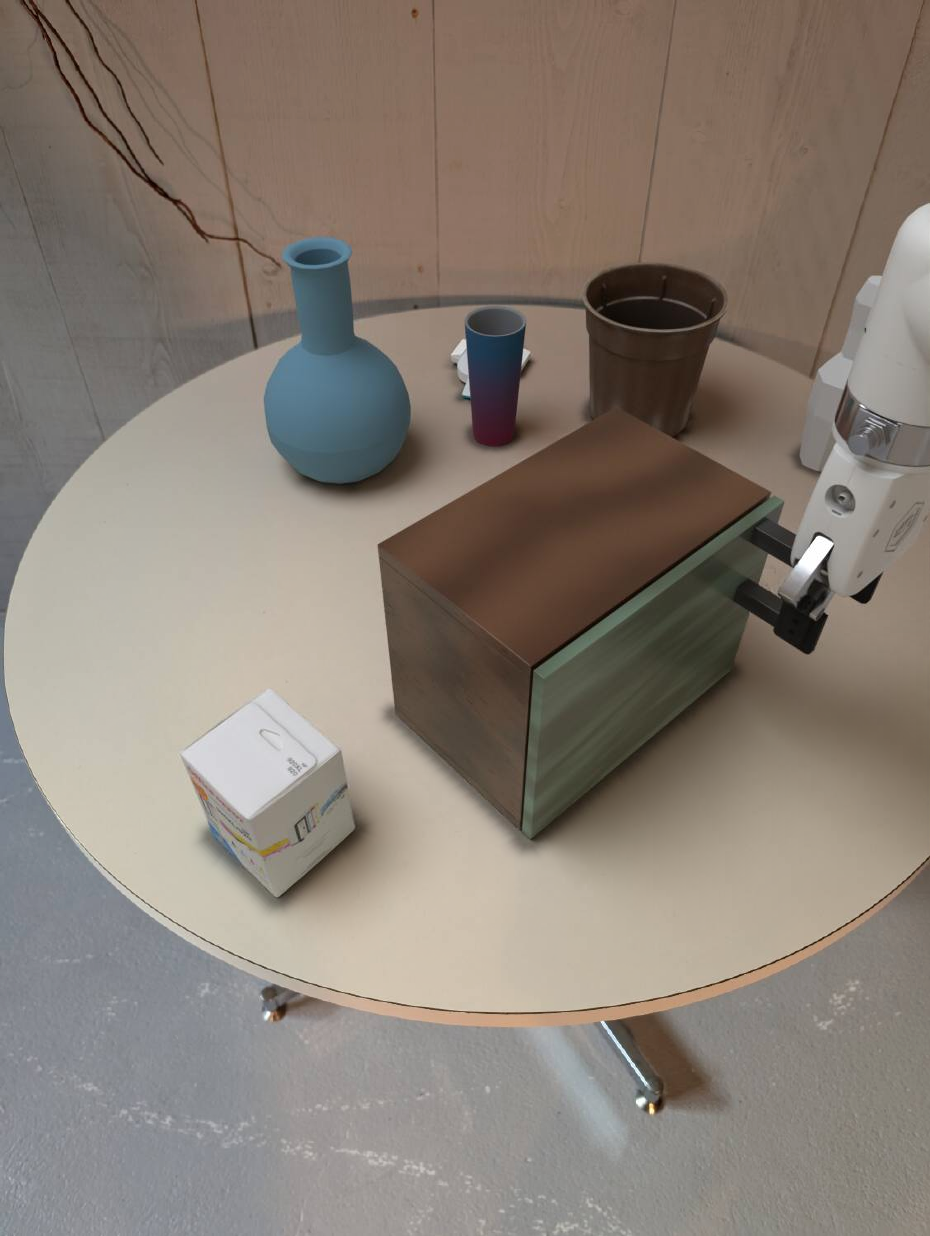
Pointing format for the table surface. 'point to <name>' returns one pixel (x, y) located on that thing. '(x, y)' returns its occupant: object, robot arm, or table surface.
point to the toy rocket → (462, 364)
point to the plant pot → (650, 339)
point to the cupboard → (537, 581)
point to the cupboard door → (647, 663)
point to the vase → (333, 378)
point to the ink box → (271, 790)
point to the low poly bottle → (834, 384)
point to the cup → (494, 371)
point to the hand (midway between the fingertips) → (822, 616)
